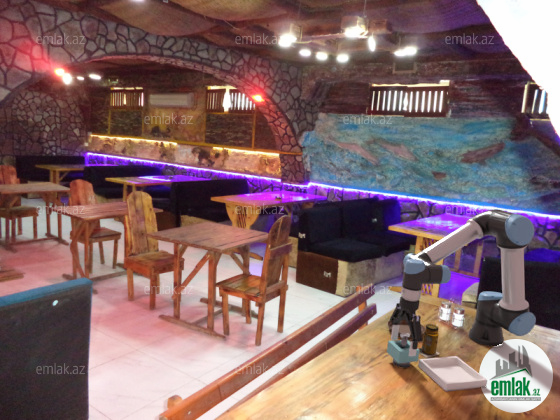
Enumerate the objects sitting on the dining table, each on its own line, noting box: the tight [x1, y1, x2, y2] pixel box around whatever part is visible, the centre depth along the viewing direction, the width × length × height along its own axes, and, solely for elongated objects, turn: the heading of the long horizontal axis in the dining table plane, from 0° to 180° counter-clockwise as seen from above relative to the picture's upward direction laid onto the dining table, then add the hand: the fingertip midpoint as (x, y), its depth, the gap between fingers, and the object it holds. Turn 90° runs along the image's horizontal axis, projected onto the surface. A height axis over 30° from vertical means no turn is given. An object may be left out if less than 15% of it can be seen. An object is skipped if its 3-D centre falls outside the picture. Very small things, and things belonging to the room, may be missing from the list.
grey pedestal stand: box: [392, 333, 411, 369], centre depth 181 cm, size 7×7×13 cm
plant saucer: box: [386, 319, 426, 339], centre depth 212 cm, size 18×18×3 cm
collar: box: [386, 339, 420, 363], centre depth 181 cm, size 9×9×5 cm
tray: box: [417, 355, 488, 392], centre depth 175 cm, size 18×18×3 cm
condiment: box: [418, 323, 441, 359], centre depth 192 cm, size 7×8×12 cm
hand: (402, 347), depth 181 cm, fingers open, 13 cm apart
